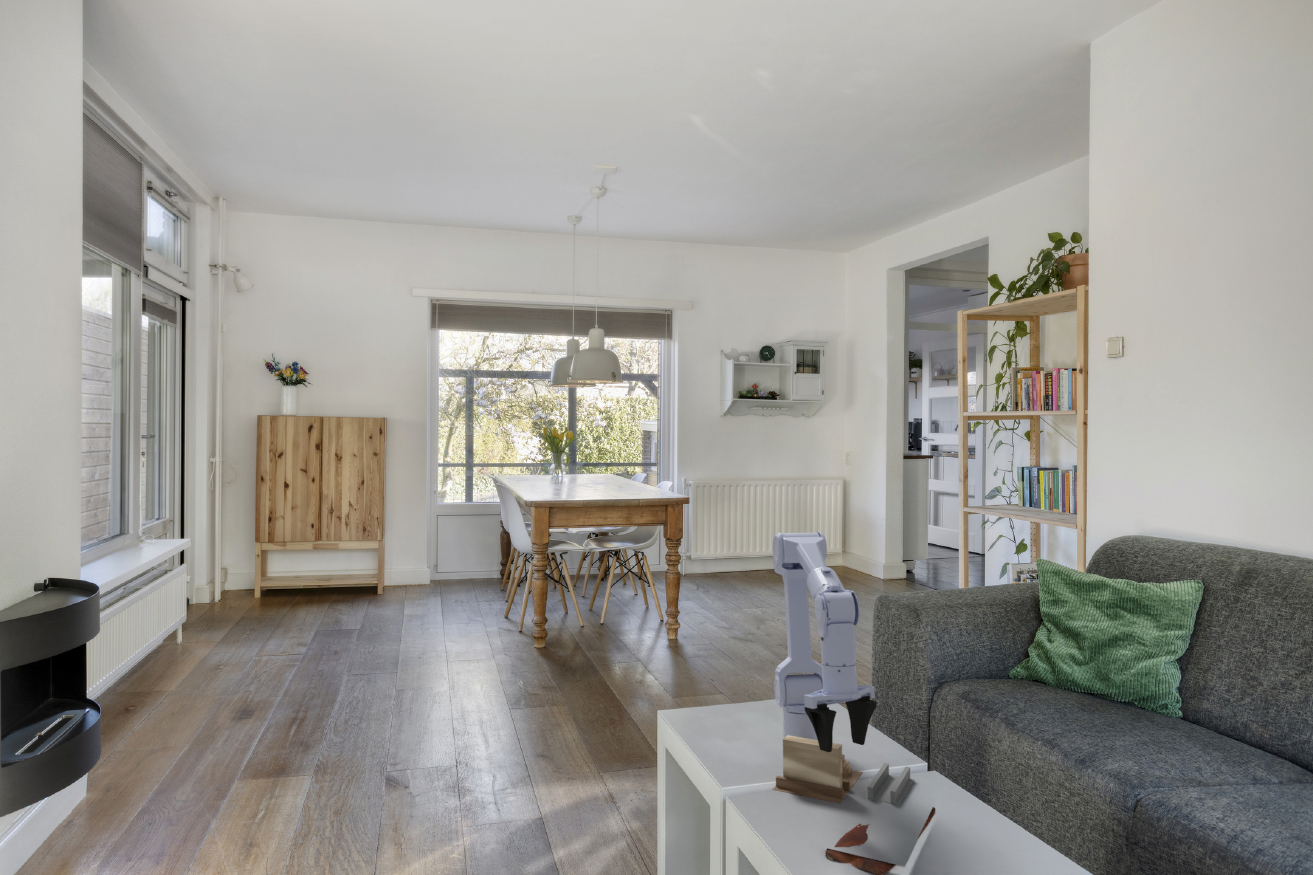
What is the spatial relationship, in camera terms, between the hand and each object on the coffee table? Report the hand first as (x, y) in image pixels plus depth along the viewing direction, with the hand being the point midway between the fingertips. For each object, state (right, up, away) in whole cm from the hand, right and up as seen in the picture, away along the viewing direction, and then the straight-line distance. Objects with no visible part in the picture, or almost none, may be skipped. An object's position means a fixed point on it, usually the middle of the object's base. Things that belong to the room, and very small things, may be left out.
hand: (842, 747), depth 134 cm
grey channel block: (+10, -11, +6) cm, 16 cm away
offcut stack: (0, -10, +14) cm, 17 cm away
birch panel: (-4, -10, +7) cm, 13 cm away
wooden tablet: (+5, -11, -8) cm, 15 cm away
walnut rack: (-2, -11, +10) cm, 15 cm away
